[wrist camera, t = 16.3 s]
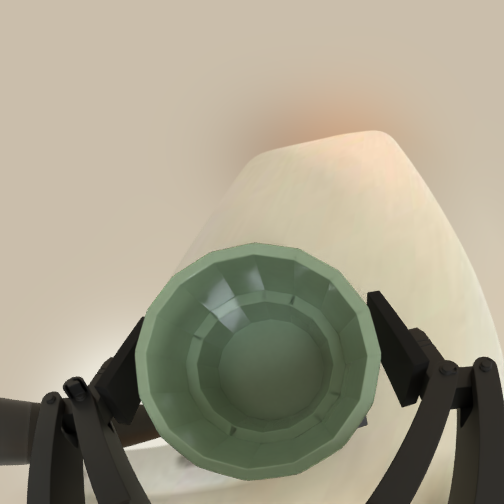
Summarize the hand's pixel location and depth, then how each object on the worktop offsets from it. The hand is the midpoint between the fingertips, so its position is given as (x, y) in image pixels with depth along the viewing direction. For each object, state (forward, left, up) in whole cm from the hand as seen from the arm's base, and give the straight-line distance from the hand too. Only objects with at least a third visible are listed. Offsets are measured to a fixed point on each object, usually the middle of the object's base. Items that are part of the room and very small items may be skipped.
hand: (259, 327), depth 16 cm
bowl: (+1, -2, -5) cm, 6 cm away
